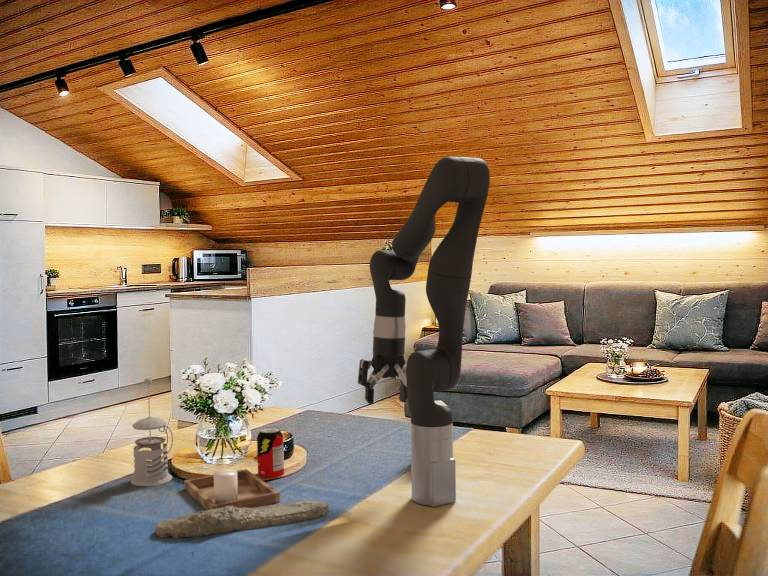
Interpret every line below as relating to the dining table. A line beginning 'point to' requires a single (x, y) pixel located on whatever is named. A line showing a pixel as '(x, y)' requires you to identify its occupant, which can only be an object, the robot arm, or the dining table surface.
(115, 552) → the dining table surface
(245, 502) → the tray
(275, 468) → the beverage can
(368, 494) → the dining table surface
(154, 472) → the french press
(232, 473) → the frosted white cylinder
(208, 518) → the long grey stone
